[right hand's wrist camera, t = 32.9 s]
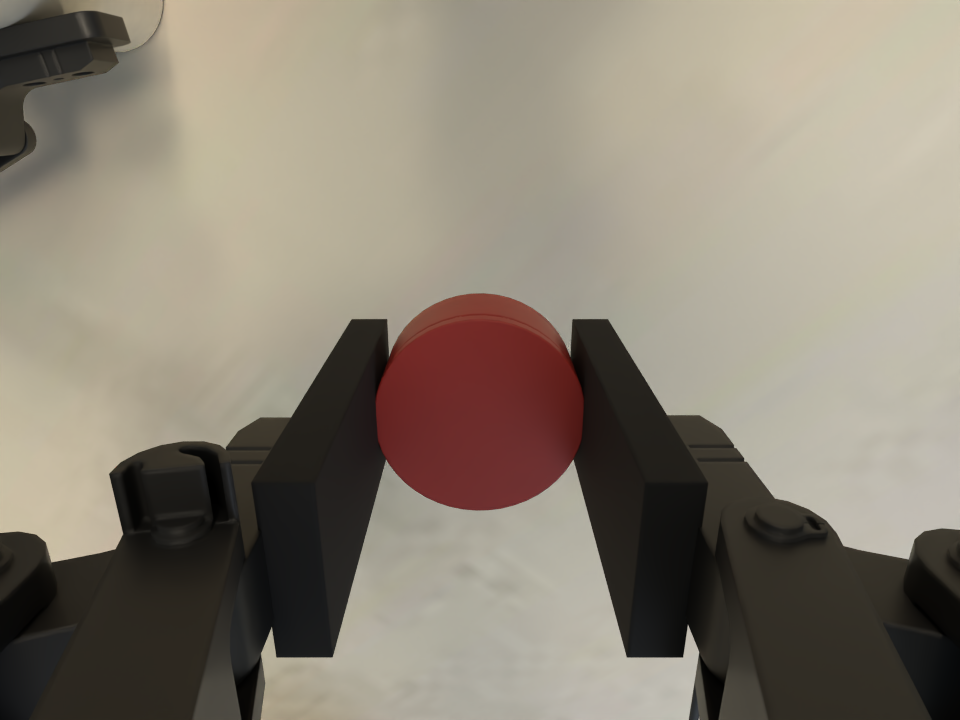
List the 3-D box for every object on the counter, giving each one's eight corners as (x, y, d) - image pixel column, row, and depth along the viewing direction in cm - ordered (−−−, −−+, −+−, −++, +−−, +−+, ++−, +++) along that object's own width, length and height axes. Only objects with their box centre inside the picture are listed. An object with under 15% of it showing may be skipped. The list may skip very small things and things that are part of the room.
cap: (611, 371, 14) (630, 408, 12) (490, 494, 15) (492, 545, 13) (467, 252, 13) (465, 273, 11) (349, 392, 14) (331, 432, 12)
